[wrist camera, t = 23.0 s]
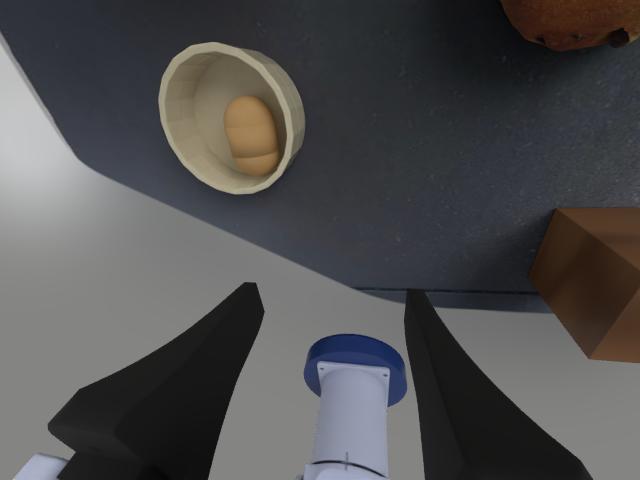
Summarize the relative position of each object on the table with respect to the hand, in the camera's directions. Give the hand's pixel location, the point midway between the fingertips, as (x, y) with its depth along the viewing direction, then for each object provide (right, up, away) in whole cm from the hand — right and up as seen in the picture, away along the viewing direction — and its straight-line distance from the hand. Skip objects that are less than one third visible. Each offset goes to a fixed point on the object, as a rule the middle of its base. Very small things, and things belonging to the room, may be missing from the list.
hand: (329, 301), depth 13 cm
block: (+19, +2, +7) cm, 20 cm away
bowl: (-6, +12, +6) cm, 14 cm away
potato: (-5, +10, +6) cm, 13 cm away
